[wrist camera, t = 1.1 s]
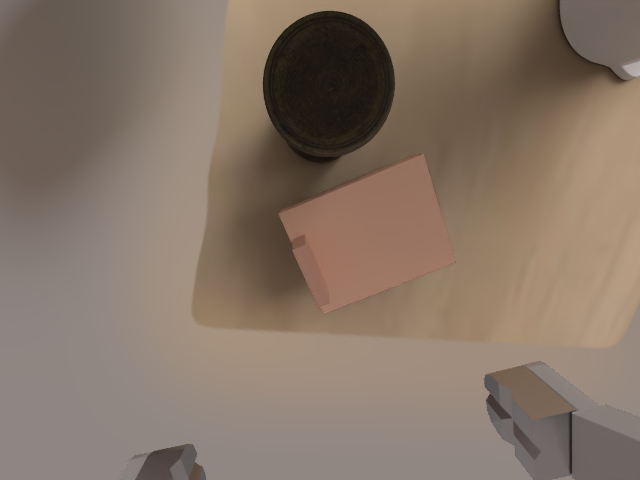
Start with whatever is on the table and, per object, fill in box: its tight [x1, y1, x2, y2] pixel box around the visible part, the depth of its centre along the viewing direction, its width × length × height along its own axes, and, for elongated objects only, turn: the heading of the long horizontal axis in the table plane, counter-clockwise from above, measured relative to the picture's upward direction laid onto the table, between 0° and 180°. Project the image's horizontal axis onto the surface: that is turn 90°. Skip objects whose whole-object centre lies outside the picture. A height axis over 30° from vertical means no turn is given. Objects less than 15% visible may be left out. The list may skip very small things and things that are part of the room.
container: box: [263, 11, 395, 162], centre depth 27 cm, size 9×9×18 cm
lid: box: [278, 154, 456, 314], centre depth 29 cm, size 15×12×6 cm
